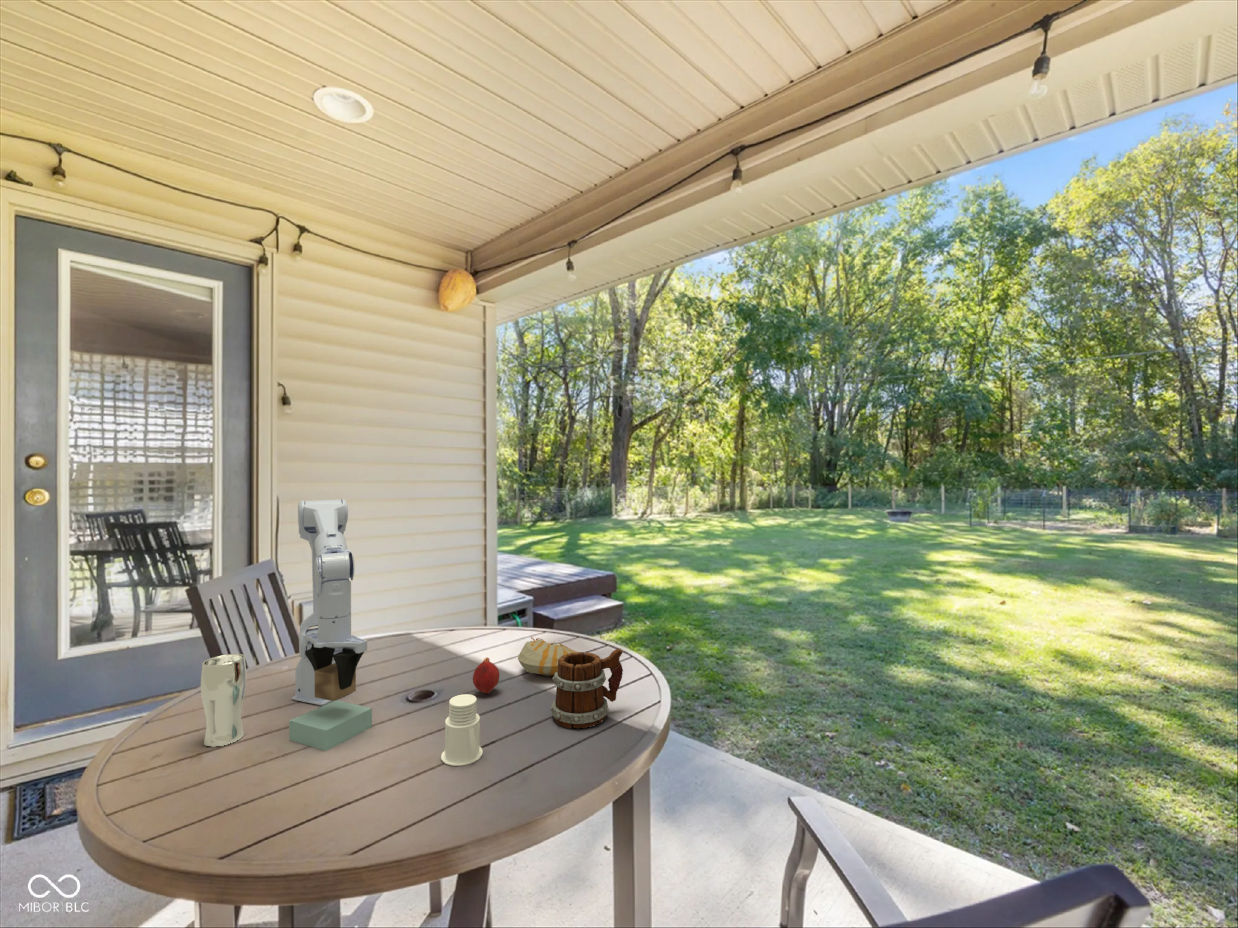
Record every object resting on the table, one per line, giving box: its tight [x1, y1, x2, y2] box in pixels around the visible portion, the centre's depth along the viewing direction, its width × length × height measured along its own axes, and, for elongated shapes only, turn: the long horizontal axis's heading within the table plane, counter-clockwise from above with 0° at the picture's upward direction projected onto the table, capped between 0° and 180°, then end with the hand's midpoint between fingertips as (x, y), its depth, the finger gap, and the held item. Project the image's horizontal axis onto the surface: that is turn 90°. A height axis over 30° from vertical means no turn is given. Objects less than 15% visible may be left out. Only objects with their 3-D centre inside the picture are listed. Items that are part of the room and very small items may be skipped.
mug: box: [549, 648, 624, 729], centre depth 111 cm, size 12×14×15 cm
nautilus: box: [517, 636, 577, 677], centre depth 137 cm, size 8×22×15 cm
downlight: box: [440, 693, 483, 767], centre depth 96 cm, size 8×7×10 cm
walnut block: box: [315, 663, 357, 702], centre depth 105 cm, size 5×5×5 cm
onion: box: [472, 657, 500, 695], centre depth 122 cm, size 6×6×8 cm
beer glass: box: [200, 653, 247, 747], centre depth 102 cm, size 7×7×15 cm
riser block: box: [288, 699, 373, 752], centre depth 104 cm, size 10×10×4 cm
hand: (334, 685), depth 105 cm, fingers closed on walnut block, 5 cm apart
